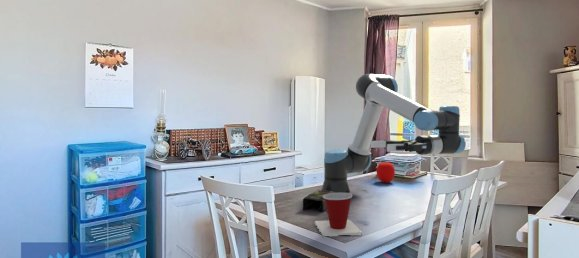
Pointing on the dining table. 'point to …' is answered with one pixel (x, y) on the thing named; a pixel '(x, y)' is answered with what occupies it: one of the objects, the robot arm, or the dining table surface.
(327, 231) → the cream tile
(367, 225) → the dining table surface
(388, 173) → the tomato
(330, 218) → the plastic cup
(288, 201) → the dining table surface
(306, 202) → the olive boxy piece
